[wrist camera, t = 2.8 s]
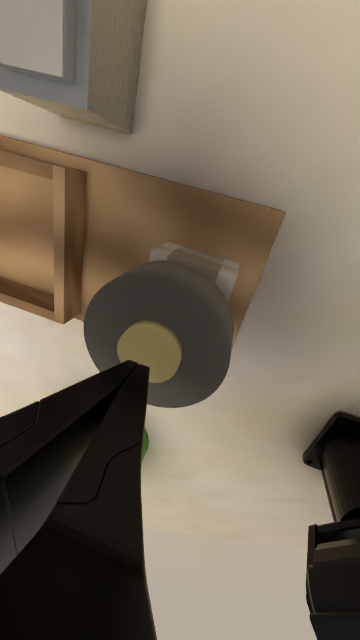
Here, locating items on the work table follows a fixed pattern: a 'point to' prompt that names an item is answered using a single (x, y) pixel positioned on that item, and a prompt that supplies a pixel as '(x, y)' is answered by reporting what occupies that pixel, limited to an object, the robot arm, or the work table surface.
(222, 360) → the grey knob
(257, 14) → the work table surface
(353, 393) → the work table surface
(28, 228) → the wooden tray
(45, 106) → the stepped grey block
